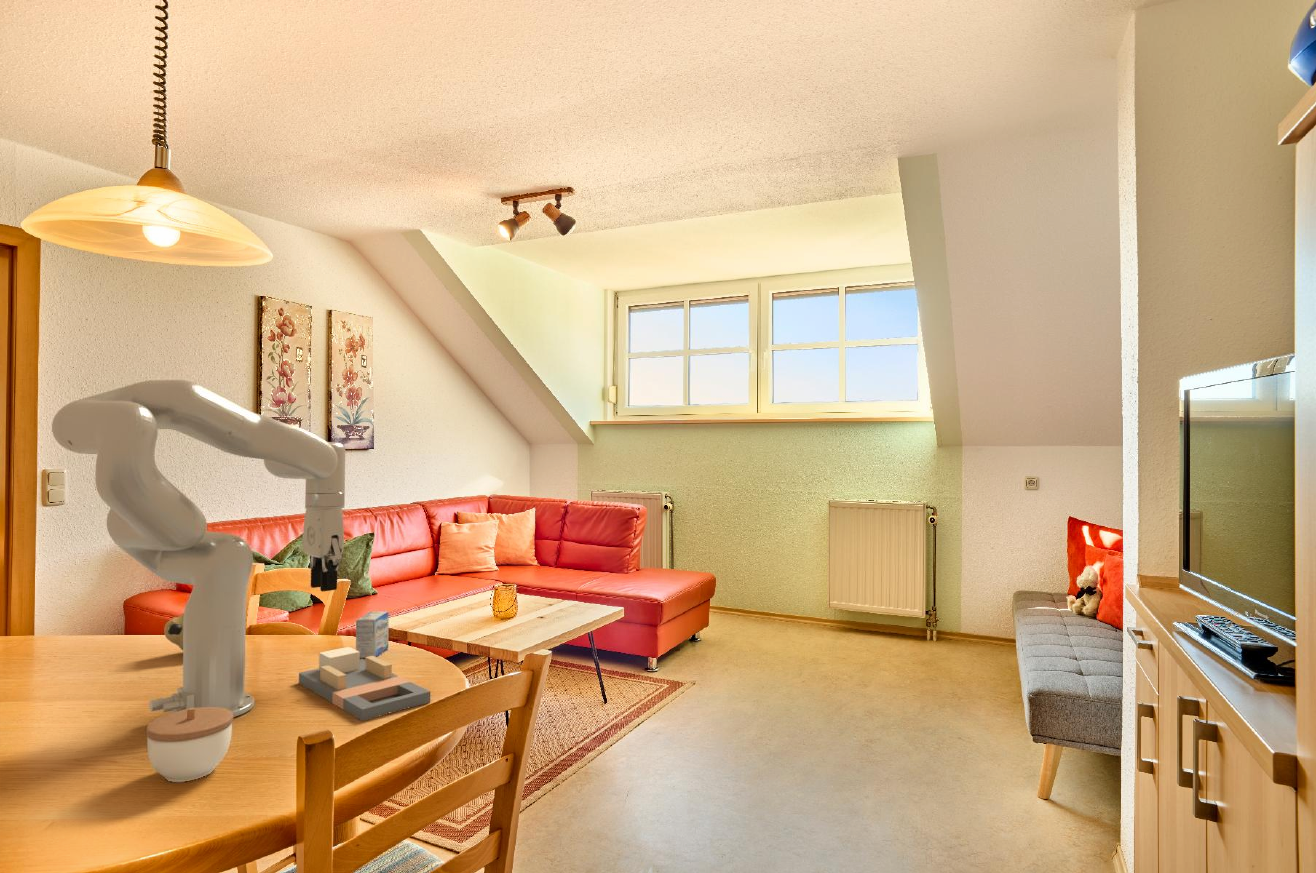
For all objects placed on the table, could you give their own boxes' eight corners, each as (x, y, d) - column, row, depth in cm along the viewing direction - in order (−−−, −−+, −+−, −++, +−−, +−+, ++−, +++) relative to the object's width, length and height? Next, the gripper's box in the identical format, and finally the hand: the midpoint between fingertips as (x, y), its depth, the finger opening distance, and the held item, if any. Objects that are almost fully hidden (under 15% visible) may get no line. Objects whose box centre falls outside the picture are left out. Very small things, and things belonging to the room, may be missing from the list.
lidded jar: (138, 771, 109) (139, 707, 109) (221, 750, 116) (222, 690, 116) (154, 797, 101) (155, 728, 101) (241, 773, 109) (242, 709, 109)
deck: (362, 720, 129) (362, 694, 129) (298, 682, 148) (299, 660, 148) (430, 702, 139) (430, 677, 139) (362, 668, 157) (362, 647, 157)
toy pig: (163, 652, 166) (164, 604, 166) (225, 644, 173) (226, 598, 173) (163, 664, 158) (164, 613, 158) (229, 655, 165) (229, 607, 165)
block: (329, 675, 146) (329, 657, 146) (318, 669, 150) (319, 652, 150) (359, 669, 151) (359, 651, 151) (348, 663, 154) (348, 646, 154)
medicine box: (375, 659, 164) (375, 619, 164) (355, 658, 164) (355, 619, 164) (388, 648, 172) (389, 611, 172) (369, 648, 172) (370, 610, 172)
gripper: (290, 499, 159) (289, 585, 159) (323, 505, 147) (322, 597, 147) (326, 497, 164) (324, 580, 164) (360, 503, 153) (359, 592, 153)
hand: (323, 587), depth 156 cm, fingers open, 4 cm apart
